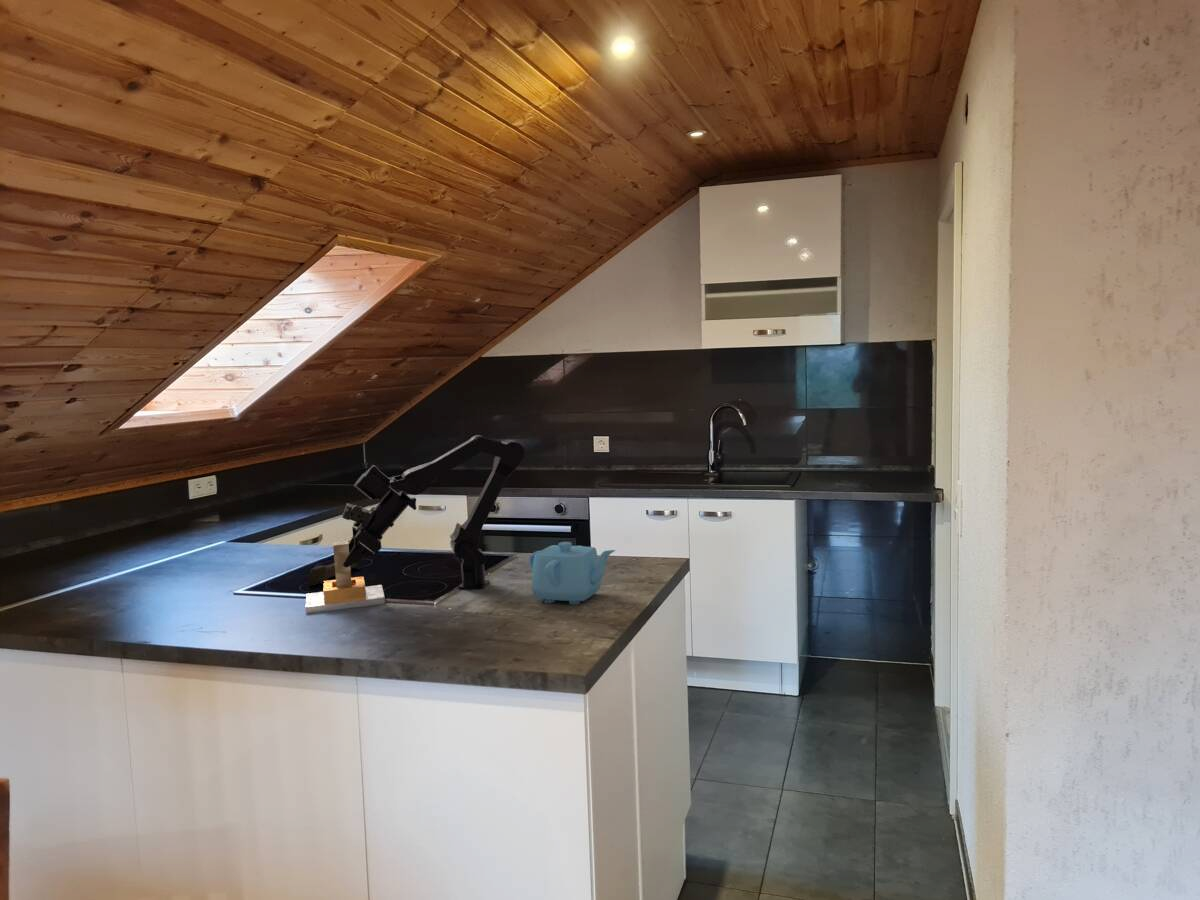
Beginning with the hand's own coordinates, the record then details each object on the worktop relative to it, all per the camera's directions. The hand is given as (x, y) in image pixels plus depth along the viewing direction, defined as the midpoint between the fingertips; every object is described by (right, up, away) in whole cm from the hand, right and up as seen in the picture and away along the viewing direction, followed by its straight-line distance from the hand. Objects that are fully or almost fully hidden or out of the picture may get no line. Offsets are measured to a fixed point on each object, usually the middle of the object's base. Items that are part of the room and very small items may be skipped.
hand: (343, 561), depth 211 cm
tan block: (0, -8, +1) cm, 8 cm away
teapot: (+56, -8, -5) cm, 56 cm away
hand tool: (-10, -8, +25) cm, 28 cm away
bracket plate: (0, -10, +1) cm, 10 cm away
